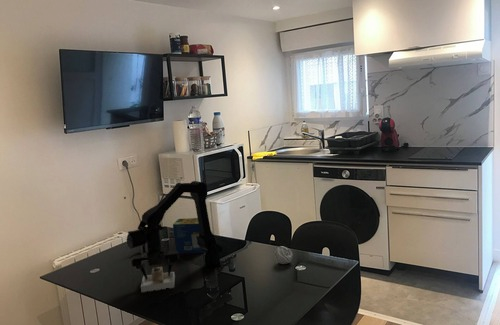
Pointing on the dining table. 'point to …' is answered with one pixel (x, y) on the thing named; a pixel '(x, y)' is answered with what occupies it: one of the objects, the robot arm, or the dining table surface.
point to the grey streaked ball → (283, 255)
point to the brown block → (157, 275)
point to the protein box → (186, 235)
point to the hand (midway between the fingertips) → (158, 277)
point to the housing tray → (149, 286)
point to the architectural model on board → (143, 248)
